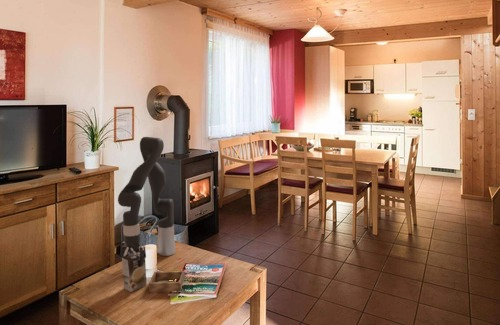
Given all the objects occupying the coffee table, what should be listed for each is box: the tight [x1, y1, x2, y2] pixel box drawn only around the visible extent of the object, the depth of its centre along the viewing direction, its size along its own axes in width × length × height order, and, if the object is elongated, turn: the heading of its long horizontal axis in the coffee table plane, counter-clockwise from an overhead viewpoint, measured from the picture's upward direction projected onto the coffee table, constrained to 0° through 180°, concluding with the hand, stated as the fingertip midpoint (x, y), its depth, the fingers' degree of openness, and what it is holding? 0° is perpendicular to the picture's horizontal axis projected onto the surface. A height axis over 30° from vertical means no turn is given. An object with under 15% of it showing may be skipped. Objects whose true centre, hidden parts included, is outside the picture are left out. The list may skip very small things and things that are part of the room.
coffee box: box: [121, 252, 147, 293], centre depth 179 cm, size 9×6×16 cm
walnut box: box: [148, 270, 186, 294], centre depth 180 cm, size 15×12×5 cm
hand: (134, 264), depth 178 cm, fingers open, 8 cm apart
